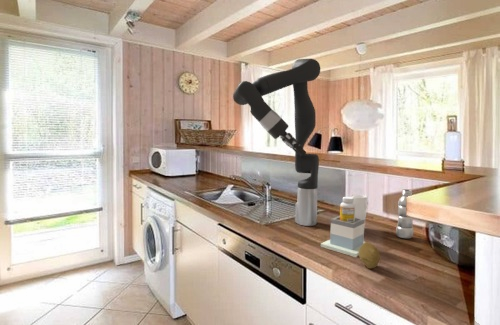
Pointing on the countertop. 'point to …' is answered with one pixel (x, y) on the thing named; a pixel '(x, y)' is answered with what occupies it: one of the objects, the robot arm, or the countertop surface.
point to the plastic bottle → (404, 217)
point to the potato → (369, 255)
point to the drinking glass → (360, 206)
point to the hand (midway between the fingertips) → (302, 153)
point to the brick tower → (346, 236)
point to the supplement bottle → (347, 210)
